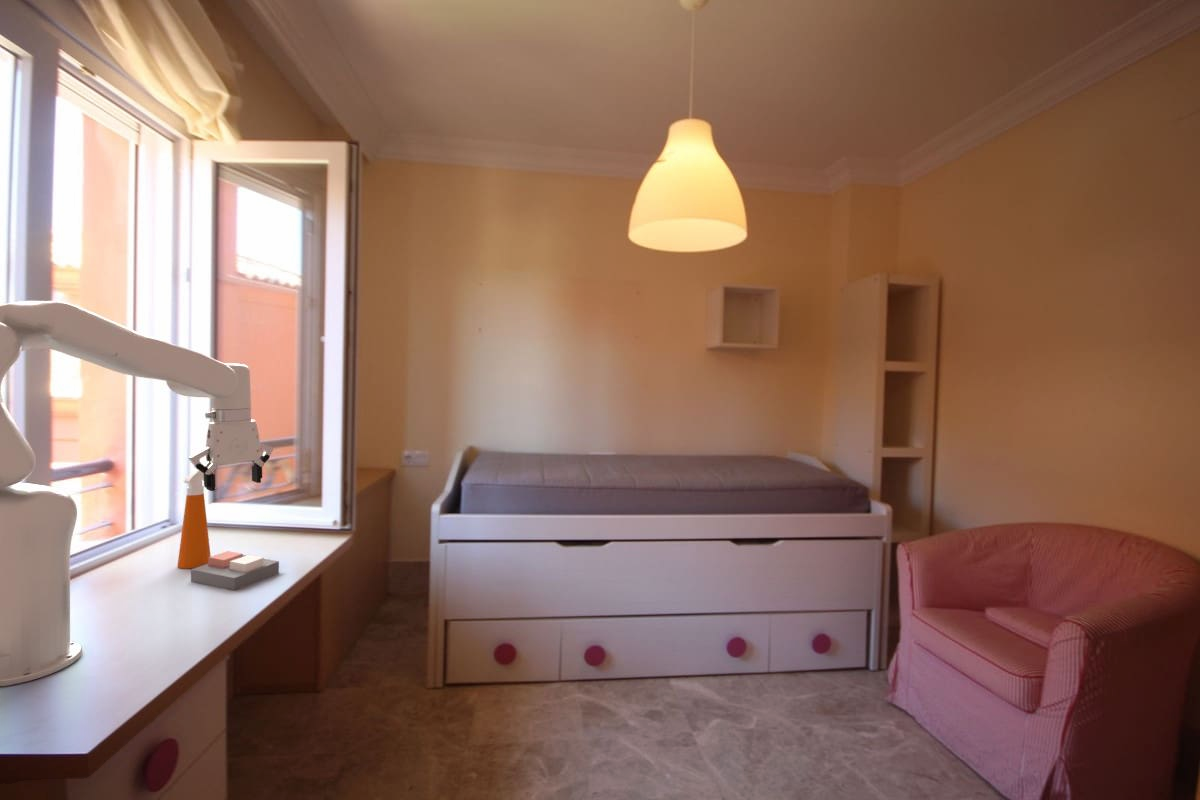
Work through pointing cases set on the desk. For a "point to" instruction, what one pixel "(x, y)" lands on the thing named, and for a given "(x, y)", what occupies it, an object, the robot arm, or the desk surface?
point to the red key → (223, 559)
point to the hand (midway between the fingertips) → (234, 485)
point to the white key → (246, 563)
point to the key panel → (232, 575)
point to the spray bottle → (194, 525)
